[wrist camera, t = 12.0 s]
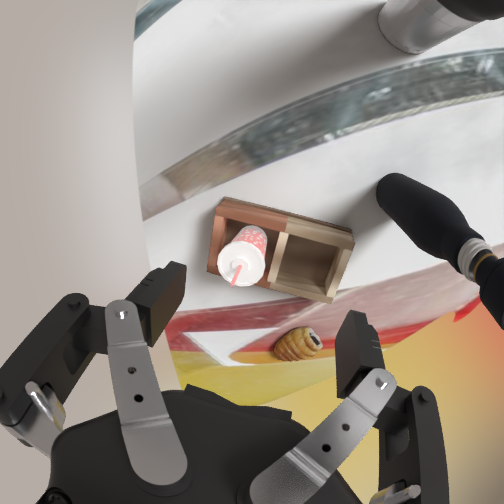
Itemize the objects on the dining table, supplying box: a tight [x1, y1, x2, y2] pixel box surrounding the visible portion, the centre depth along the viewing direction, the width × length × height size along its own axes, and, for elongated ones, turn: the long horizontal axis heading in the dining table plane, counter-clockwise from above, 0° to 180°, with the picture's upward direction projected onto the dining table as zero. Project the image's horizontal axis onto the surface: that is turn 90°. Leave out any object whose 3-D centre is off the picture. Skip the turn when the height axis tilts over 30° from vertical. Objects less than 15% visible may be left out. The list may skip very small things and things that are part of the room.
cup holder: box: [207, 197, 355, 304], centre depth 42 cm, size 11×20×5 cm, turn 78°
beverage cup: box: [217, 225, 267, 288], centre depth 37 cm, size 6×6×14 cm
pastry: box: [274, 327, 323, 361], centre depth 50 cm, size 9×7×4 cm
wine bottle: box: [376, 173, 504, 330], centre depth 24 cm, size 6×6×30 cm
